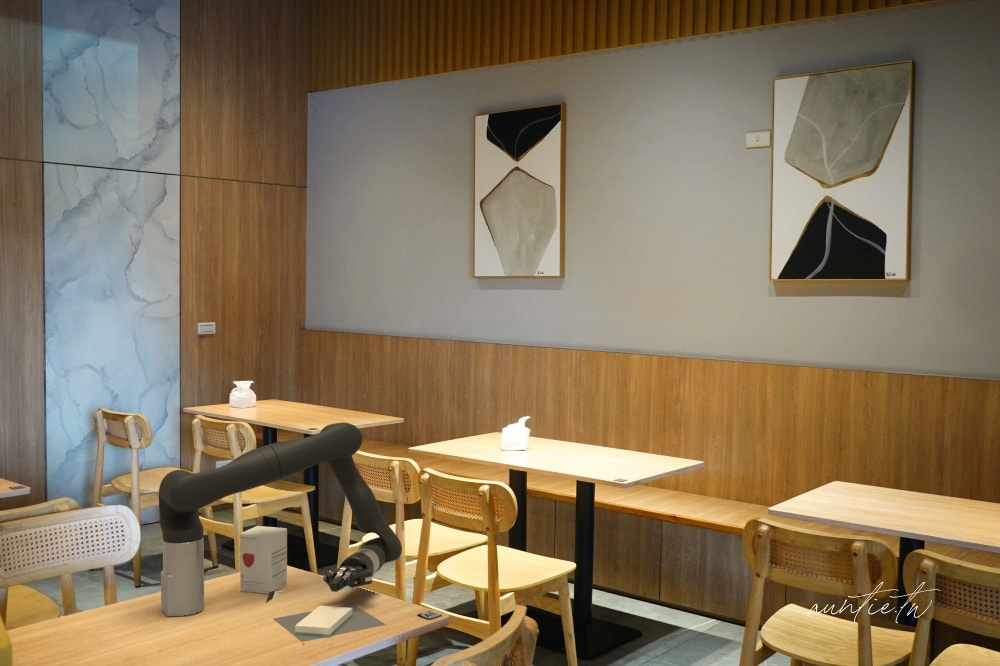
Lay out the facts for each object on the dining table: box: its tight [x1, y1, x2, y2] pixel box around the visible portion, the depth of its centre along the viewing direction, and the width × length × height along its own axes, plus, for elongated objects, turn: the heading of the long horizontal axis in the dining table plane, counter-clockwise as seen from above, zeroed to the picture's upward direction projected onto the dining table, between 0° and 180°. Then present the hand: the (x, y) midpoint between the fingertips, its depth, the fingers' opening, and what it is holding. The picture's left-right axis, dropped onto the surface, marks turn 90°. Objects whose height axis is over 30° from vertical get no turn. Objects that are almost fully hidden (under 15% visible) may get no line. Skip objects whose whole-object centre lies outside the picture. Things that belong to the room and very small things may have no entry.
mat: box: [272, 603, 387, 643], centre depth 220 cm, size 20×18×1 cm
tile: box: [295, 605, 352, 638], centre depth 217 cm, size 2×8×14 cm
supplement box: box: [239, 525, 288, 595], centre depth 247 cm, size 9×9×15 cm
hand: (334, 587), depth 223 cm, fingers closed
